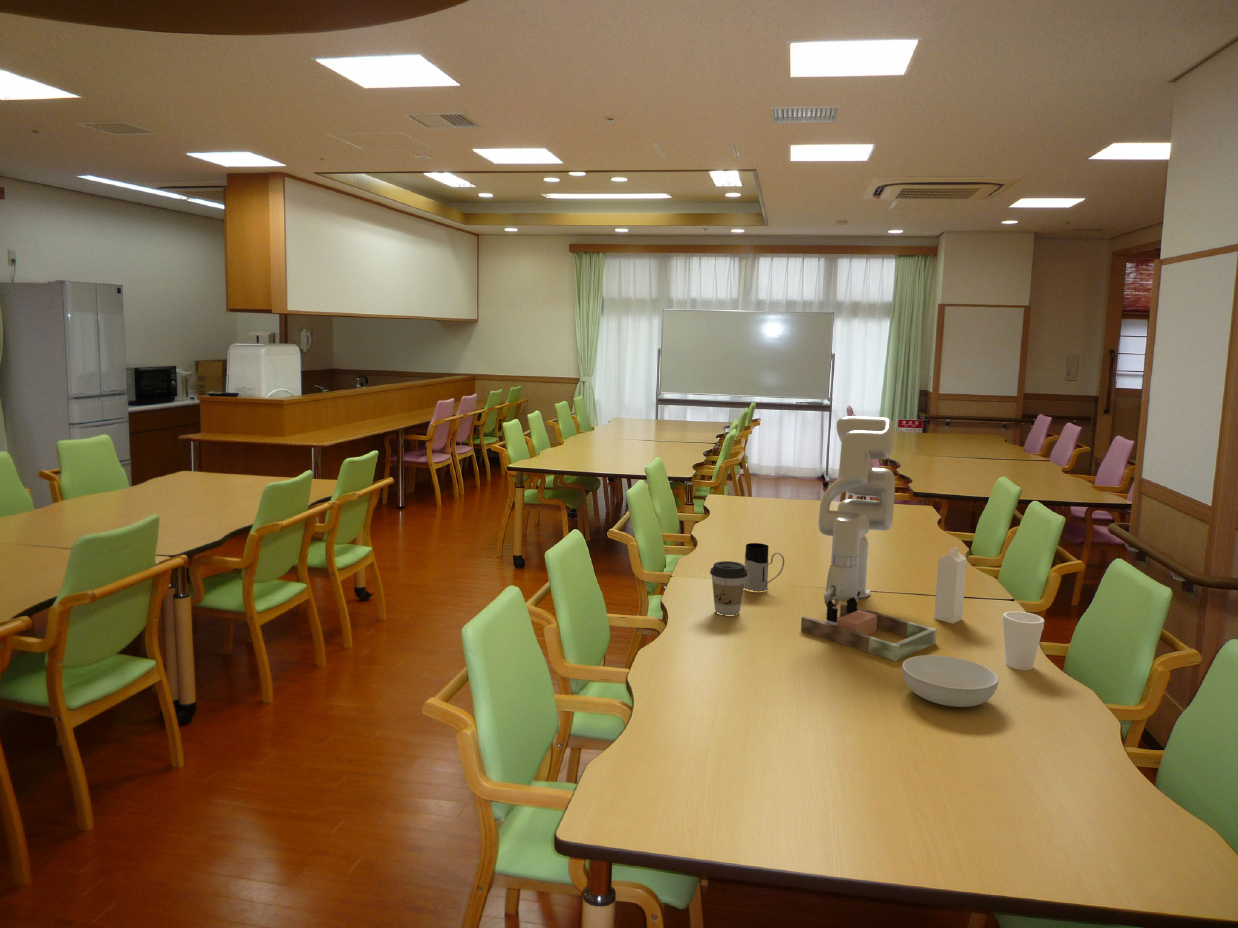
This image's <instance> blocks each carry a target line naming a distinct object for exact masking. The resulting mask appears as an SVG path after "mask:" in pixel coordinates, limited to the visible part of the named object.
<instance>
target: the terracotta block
mask: <svg viewBox="0 0 1238 928" xmlns="http://www.w3.org/2000/svg"><path fill="white" fill-rule="evenodd" d="M839 617H840V616H839ZM837 626H839V627H842V628H845V629H849V630H852V631H855V632H858V633H862V634H865V635H868V636H870V635H871V634H873V633H876V632H877V629H878V628H877V615H876V614H872V613H868V612H864V611H861V610H857V611H855V612H852V613H850V614H848V615H845V616H843V617H840V618H838V619H837Z"/></svg>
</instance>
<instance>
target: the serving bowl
mask: <svg viewBox="0 0 1238 928" xmlns="http://www.w3.org/2000/svg"><path fill="white" fill-rule="evenodd" d="M902 674H903V678H904V681H905V683H906V684H907V685H906V686H908V688H909V689H910V690H911V691H912V692H914V693H915V694H916V695H917V696H919V697H920V698H923V699H924V700H926V701H929V702H931V703H933V704H934V703H935V704H938V705H943V706H946V707H947V706H948V707H956V708H957V707H958V708H967V707H975V706H978V705H982V704H984V703H986V702H987V701H988V700H990V699H991V698H992V697H993V696H994V694H995V693H996V691H997V688H998V686H999V676H998V674H997V673H996V672H995V671H994V670H992V669H990V668H989V667H987V666H985V665H983V664H980V663H977V662H975V661H971V660H968V659H965V658H964V659H963V658H959V657H955V656H946V655H934V654H933V655H932V654H930V655H929V654H928V655H927V654H926V655H917V656H912V657H909V658H907V659H906V660H904V661H903V662H902Z"/></svg>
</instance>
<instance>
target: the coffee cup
mask: <svg viewBox="0 0 1238 928" xmlns="http://www.w3.org/2000/svg"><path fill="white" fill-rule="evenodd" d="M709 574H710V575H711V580H712V581H711V582H712V590H713V594H712V595H713V602H714V605H713V606H714V610H715V613H716V612H718V613H720V614H723V615H736V614H738V613H739V614H740V611H741V605H742V599H743V594H744V590H743V589H744V583H745V577H746V576H747V570H746V569H745V564H743V563H741V562H737V561H731V560H730V561H727V560H721V561H717V562H714V563H713V566H712V567H711V568H710V571H709ZM739 614H738V615H739Z"/></svg>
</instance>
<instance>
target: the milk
mask: <svg viewBox="0 0 1238 928" xmlns="http://www.w3.org/2000/svg"><path fill="white" fill-rule="evenodd" d="M967 560H968V559H967V558H966V557H965V556H964V555H962V553H960V552H959V547H958V546H956V547H952V548H951V549H948V554H947V555H944V556H942V557H938V560H937V561H938V562H937V575H936V585H935V587H936V589H935V601H934V614H933V615H934V617H933V619H934V620H937V621H940V622H945V623H949V624H956V623H957V622H960V621H962V620H963V610H964V598H965V586H966V574H967V573H966V572H967V571H966V570H967Z"/></svg>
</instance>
